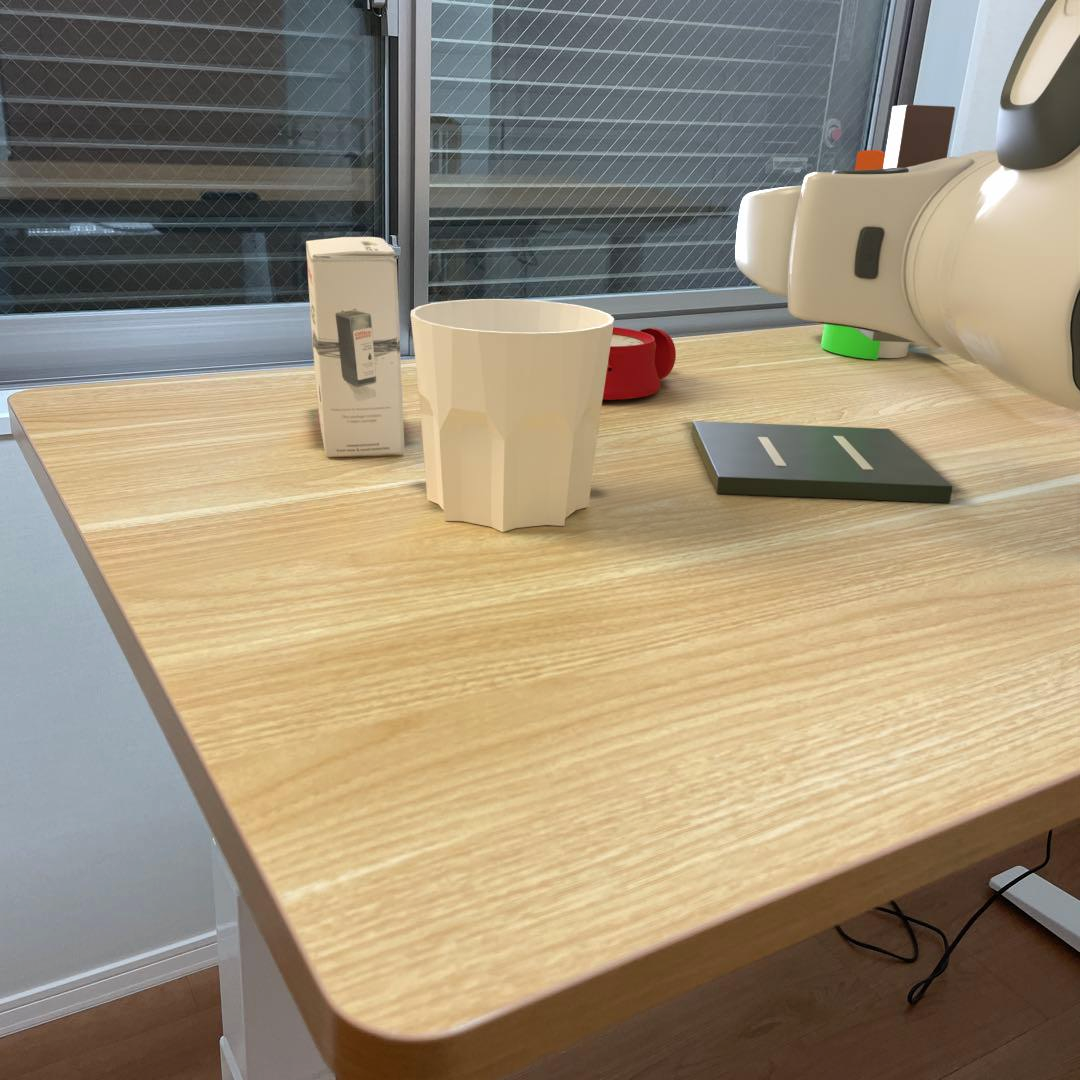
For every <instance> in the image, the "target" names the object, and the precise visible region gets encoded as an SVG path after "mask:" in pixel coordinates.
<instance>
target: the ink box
mask: <svg viewBox="0 0 1080 1080" xmlns="http://www.w3.org/2000/svg"><path fill="white" fill-rule="evenodd" d="M305 251H306V265H307V281H308V283H307V284H308V295H309V297H308V298H309V311H310V326H311V342H312V343H311V344H312V354H313V367H314V378H315V379H314V380H315V390H316V402H317V413H318V422H319V427H320V432H321V438H322V443H323V449H324V454H325V457H327V458H350V457H383V456H384V457H385V456H404V455H405V430H404V428H405V427H404V407H403V404H404V403H403V387H402V386H403V385H402V384H403V383H402V382H403V381H402V361H401V360H402V359H401V340H400V339H401V338H400V337H401V336H400V311H399V308H400V307H399V286H398V263H397V262H398V261H397V257H396V251H395V250H394V248H393V247H392V246H391V245H390V244H389V243H388V242H387V241H386V240H385V239H384V238H383V237H377V236H376V237H375V236H341V237H331V238H322V239H313V240H306V241H305Z"/></svg>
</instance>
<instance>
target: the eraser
mask: <svg viewBox="0 0 1080 1080" xmlns="http://www.w3.org/2000/svg"><path fill="white" fill-rule="evenodd" d="M955 112H956V106H951V105H949V106H947V105H927V104H925V105H924V104H900V105H893V106H892V108H891V115H890V122H889V128H888V134H887V139H886V141H887V142H886V148H885V160H884V166H883V169H886V168H906V167H911V166H915V165H919V164H923V163H927V162H931V161H935V160H939V159H943V158H948V153H949V149H950V142H951V135H952V130H953V124H954V119H955ZM854 329H856V330H857V331H859V332H860V333H862V334H864V335H865V336H867V337H868V338H870V339H871V340H873V341H889V342H909V343H915V344H917V343H916V342H913V341H911V340H908V339H905V338H902V337H899V336H896V335H893V334H889V333H885V332H875V331H869V330H864V329H858V328H854Z"/></svg>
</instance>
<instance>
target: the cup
mask: <svg viewBox="0 0 1080 1080" xmlns="http://www.w3.org/2000/svg"><path fill="white" fill-rule="evenodd" d="M410 324H411V332H412V342H413V351H414V352H413V353H414V360H415V361H414V362H415V369H416V378H417V388H418V398H419V410H420V423H421V424H420V426H421V436H422V437H421V439H422V451H423V462H424V472H425V473H424V474H425V475H424V476H425V489H426V499H427V501H429V502H432V503H434V504H436V505H438V506H439V507H440V508H441V509H442V510H443V521H444V522H465V523H470V524H474V525H480V526H485V527H490V528H493V529H494V530H497V531H499V532H502V533H504V532H507V531H510V530H511V531H512V530H514V529H518V528H529V527H539V526H557V527H559V526H560V527H565V524H566V523H565V522H566V519H567V518H568V517H569V516H570V515H572V514H573V513H574V512H575V511H578V510H582V509H586V508H589V505H590V499H591V498H590V497H591V489H592V482H593V475H594V467H595V459H596V451H597V443H598V435H599V428H600V419H601V413H602V406H603V400H604V399H603V393H604V386H605V379H606V372H607V366H608V359H609V352H610V345H611V338H612V332H613V327H614V324H615V318H614V316H612V314H610V313H607V312H605V311H603V310H600V309H598V308H597V309H596V308H593V307H588V306H585V305H578V304H571V303H565V302H555V301H545V300H535V299H534V300H532V299H529V300H528V299H514V298H509V299H508V298H478V299H477V298H476V299H469V298H468V299H458V300H457V299H456V300H445V301H438V302H431V303H427V304H422V305H419V306H416V307H415V308H413V309H411V310H410Z"/></svg>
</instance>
